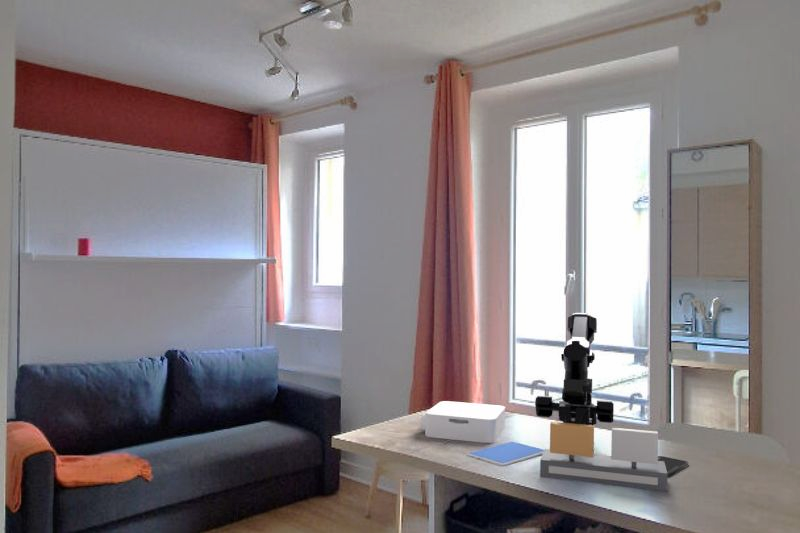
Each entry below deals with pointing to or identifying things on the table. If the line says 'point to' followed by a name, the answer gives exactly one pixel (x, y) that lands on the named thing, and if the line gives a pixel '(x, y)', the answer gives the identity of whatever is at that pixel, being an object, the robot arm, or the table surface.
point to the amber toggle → (572, 439)
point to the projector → (464, 421)
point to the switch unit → (604, 471)
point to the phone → (673, 465)
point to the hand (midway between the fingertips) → (572, 438)
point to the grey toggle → (634, 446)
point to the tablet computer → (506, 453)
